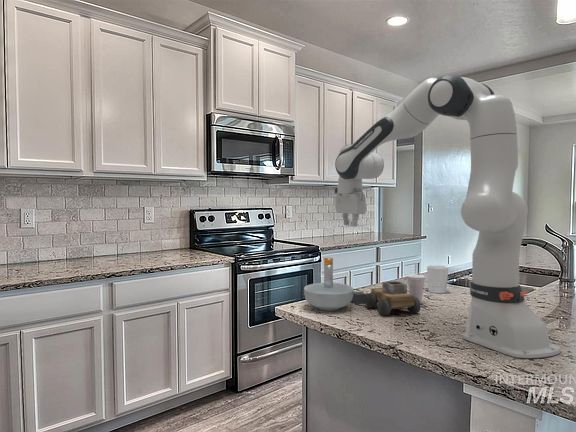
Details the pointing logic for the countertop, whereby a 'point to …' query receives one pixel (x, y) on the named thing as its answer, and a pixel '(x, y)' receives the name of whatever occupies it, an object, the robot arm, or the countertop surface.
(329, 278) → the grey and orange cylinder
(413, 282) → the smoothie
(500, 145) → the robot arm
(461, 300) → the countertop surface
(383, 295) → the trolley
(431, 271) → the white cup
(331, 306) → the cereal bowl
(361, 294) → the dark grey cube
